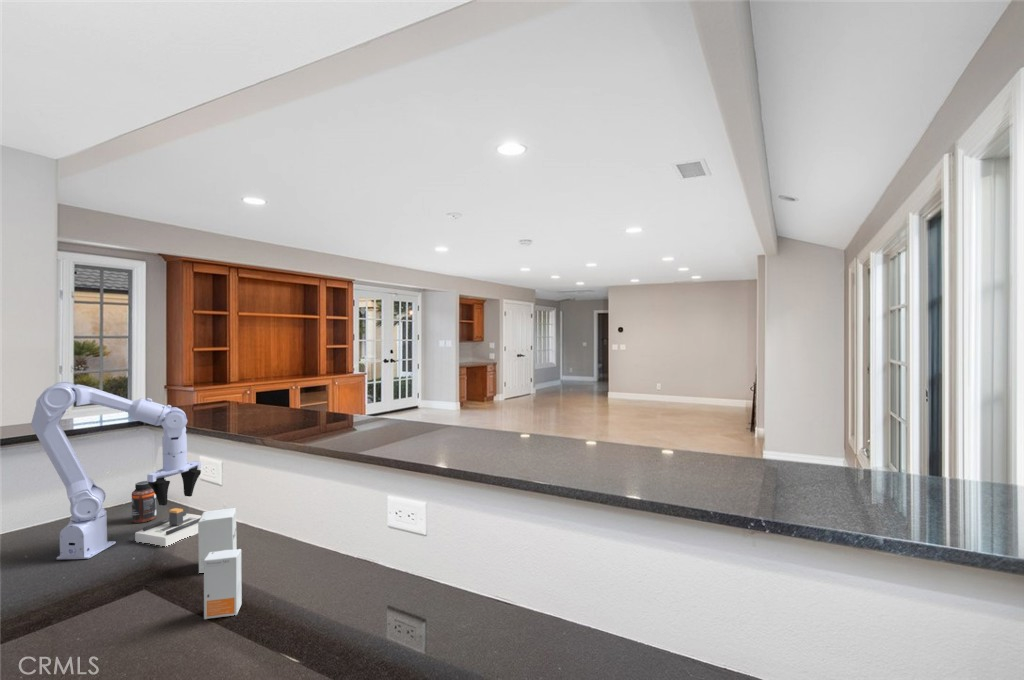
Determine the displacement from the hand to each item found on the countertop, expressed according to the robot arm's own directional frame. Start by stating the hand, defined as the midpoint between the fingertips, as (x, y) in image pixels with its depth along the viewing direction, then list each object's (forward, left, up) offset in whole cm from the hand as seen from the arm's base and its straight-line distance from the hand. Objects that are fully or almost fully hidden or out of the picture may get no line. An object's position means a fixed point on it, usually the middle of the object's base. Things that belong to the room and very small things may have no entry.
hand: (175, 500), depth 143 cm
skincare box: (-41, -34, -10) cm, 54 cm away
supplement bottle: (+11, +16, -10) cm, 22 cm away
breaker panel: (0, 0, -9) cm, 9 cm away
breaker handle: (0, 0, -7) cm, 7 cm away
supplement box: (-20, -22, -10) cm, 31 cm away
